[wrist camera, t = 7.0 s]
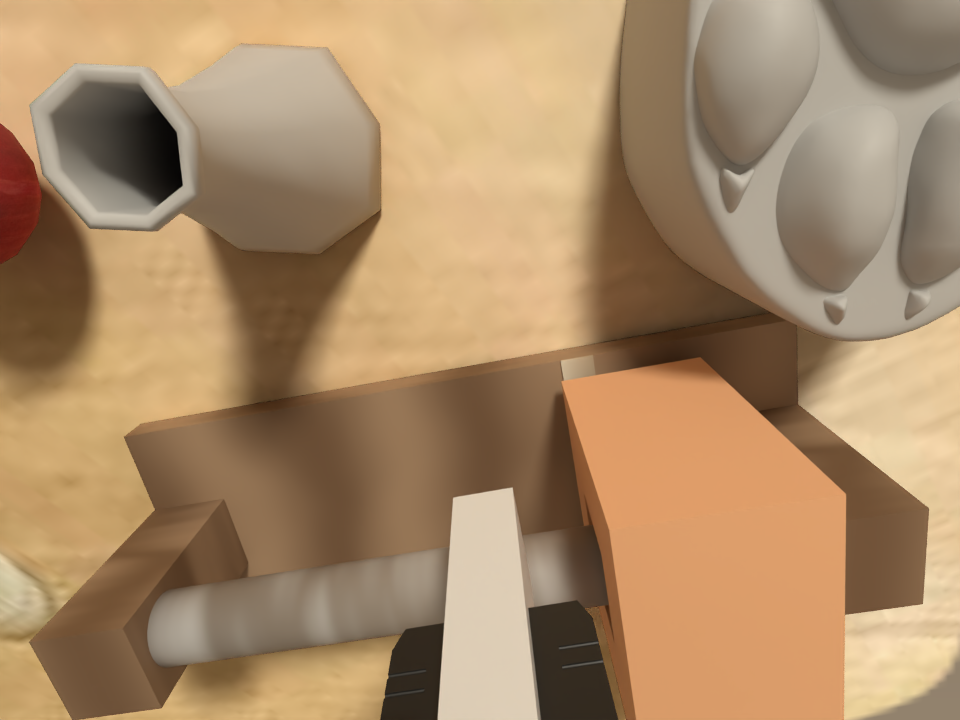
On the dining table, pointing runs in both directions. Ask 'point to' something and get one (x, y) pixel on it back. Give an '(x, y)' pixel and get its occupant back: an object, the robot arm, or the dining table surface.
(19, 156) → the onion
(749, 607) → the collar
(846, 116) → the lumpy-topped squat cylinder
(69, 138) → the flask
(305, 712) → the dining table surface
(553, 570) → the pipe stand
